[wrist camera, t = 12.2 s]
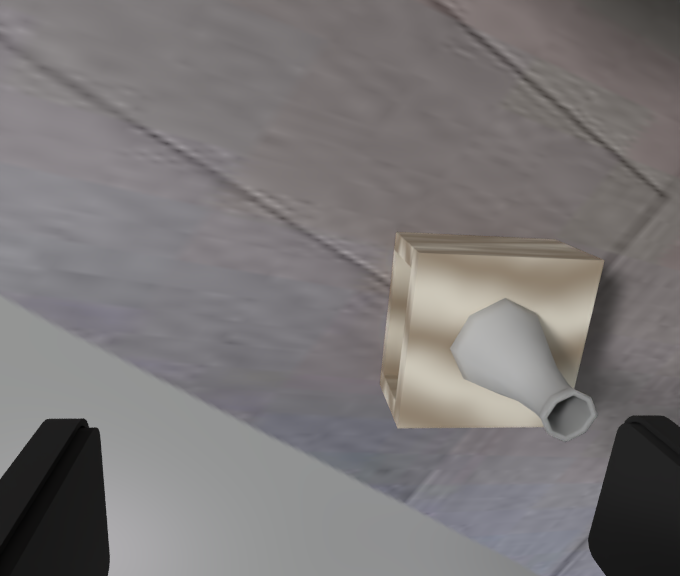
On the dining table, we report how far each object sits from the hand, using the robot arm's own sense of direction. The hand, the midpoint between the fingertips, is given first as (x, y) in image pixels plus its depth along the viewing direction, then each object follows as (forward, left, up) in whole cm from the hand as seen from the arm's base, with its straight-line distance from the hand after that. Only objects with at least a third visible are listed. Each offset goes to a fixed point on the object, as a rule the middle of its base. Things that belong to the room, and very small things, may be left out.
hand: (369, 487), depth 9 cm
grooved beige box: (+9, +16, -33) cm, 38 cm away
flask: (+9, +16, -26) cm, 32 cm away
